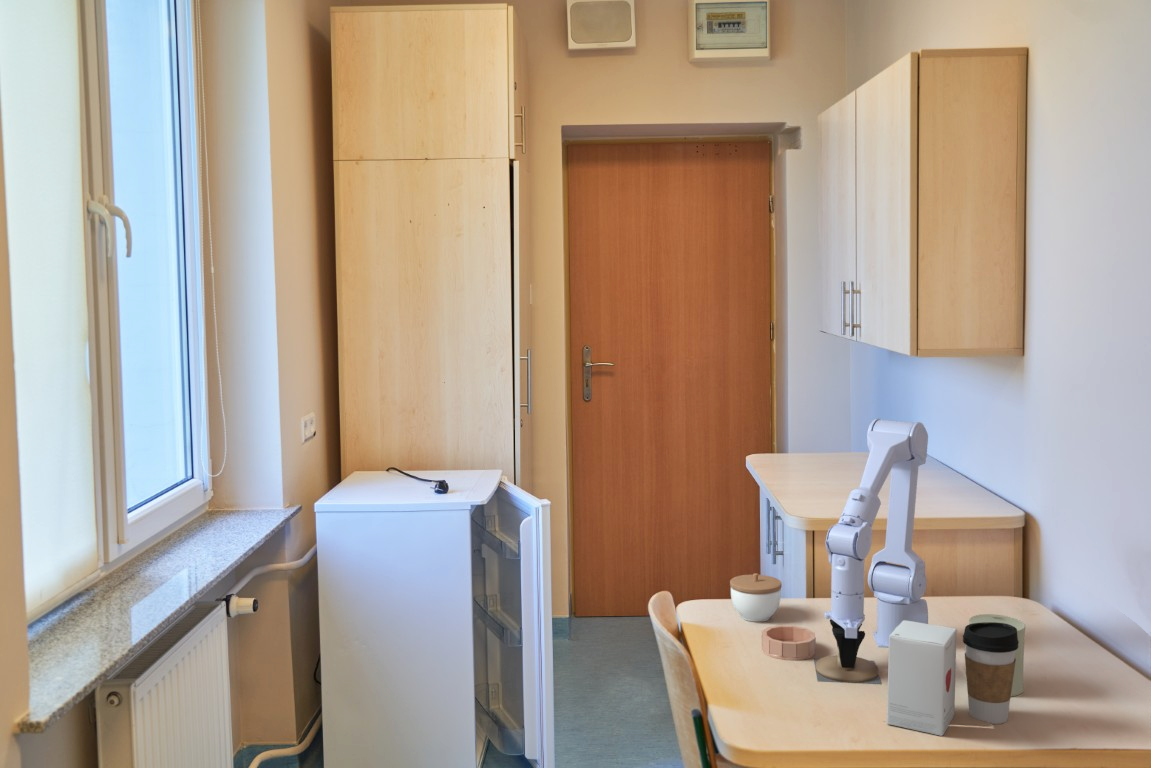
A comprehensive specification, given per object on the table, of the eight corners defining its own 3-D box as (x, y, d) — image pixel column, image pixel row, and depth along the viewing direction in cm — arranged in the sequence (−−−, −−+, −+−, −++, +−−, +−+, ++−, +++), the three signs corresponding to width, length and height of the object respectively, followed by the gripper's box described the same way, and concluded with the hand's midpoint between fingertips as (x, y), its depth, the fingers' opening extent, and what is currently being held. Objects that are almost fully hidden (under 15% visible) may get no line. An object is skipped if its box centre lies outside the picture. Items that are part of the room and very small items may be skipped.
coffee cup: (1021, 729, 164) (1024, 637, 162) (965, 725, 166) (967, 634, 164) (1010, 707, 172) (1013, 620, 170) (956, 704, 174) (959, 617, 172)
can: (1021, 679, 184) (1023, 614, 182) (1025, 699, 175) (1028, 631, 174) (966, 673, 187) (967, 609, 185) (967, 693, 178) (969, 625, 177)
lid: (874, 660, 192) (874, 635, 192) (881, 684, 182) (882, 657, 181) (813, 658, 194) (813, 633, 194) (817, 680, 183) (817, 654, 183)
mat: (874, 662, 192) (874, 660, 192) (881, 686, 182) (881, 684, 182) (813, 660, 194) (813, 658, 194) (817, 683, 183) (817, 680, 183)
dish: (813, 644, 202) (813, 626, 202) (816, 663, 193) (816, 644, 192) (761, 642, 204) (761, 624, 204) (762, 660, 194) (762, 642, 194)
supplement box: (943, 737, 161) (945, 645, 160) (885, 725, 166) (887, 635, 165) (956, 716, 169) (958, 627, 168) (900, 704, 174) (902, 618, 172)
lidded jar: (791, 617, 218) (792, 574, 217) (758, 629, 211) (759, 584, 210) (752, 605, 226) (752, 563, 225) (719, 616, 220) (719, 573, 219)
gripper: (821, 577, 194) (821, 647, 195) (828, 602, 180) (827, 677, 181) (860, 579, 193) (859, 649, 194) (869, 603, 179) (868, 679, 180)
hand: (846, 663), depth 188 cm, fingers closed on lid, 3 cm apart
